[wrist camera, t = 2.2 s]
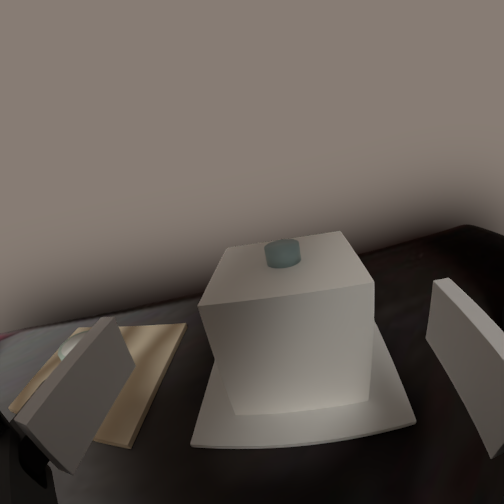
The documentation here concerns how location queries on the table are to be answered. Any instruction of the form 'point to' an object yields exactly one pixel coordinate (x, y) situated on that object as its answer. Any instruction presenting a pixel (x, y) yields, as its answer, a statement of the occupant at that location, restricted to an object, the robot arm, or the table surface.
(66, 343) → the pale green cylinder
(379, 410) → the grey mat
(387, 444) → the table surface
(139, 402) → the birch board
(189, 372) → the table surface
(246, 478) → the table surface
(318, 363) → the dust cover
